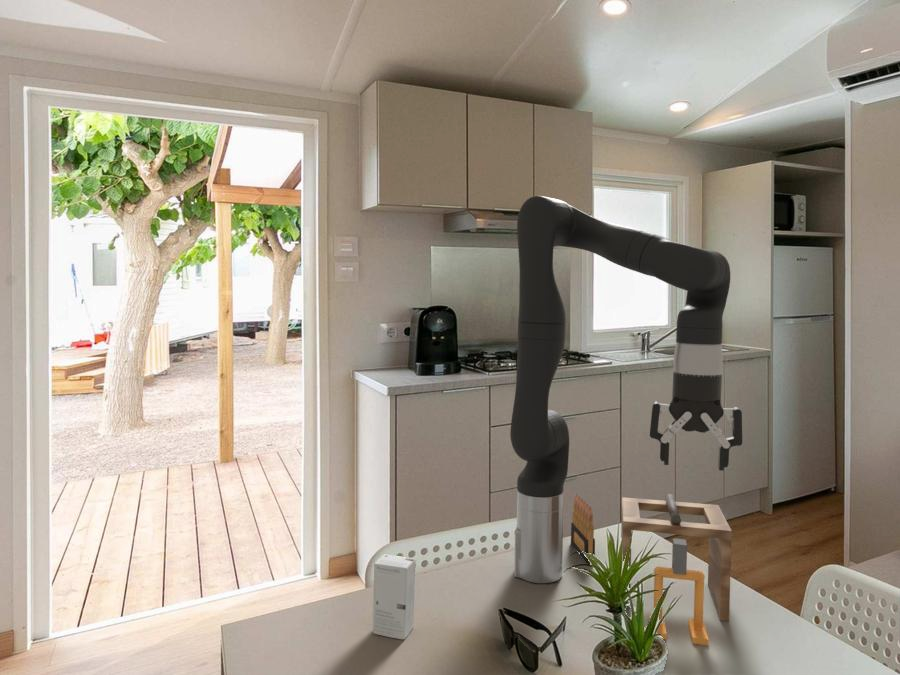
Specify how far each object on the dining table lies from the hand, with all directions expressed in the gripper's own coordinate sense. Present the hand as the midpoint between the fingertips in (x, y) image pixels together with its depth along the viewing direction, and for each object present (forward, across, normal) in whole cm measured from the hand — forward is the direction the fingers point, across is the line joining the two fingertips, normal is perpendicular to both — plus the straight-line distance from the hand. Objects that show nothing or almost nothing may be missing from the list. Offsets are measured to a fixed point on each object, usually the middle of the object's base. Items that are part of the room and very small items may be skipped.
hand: (693, 466), depth 103 cm
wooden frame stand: (+28, -2, +11) cm, 30 cm away
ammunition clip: (+28, -20, +26) cm, 43 cm away
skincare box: (+29, -46, -17) cm, 57 cm away
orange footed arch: (+28, -2, -2) cm, 28 cm away
